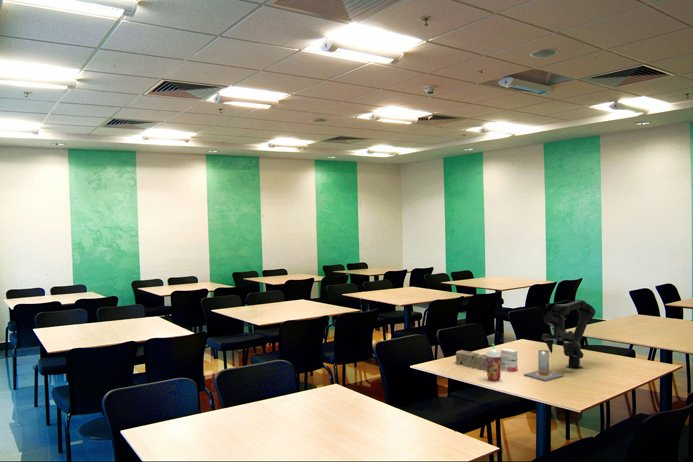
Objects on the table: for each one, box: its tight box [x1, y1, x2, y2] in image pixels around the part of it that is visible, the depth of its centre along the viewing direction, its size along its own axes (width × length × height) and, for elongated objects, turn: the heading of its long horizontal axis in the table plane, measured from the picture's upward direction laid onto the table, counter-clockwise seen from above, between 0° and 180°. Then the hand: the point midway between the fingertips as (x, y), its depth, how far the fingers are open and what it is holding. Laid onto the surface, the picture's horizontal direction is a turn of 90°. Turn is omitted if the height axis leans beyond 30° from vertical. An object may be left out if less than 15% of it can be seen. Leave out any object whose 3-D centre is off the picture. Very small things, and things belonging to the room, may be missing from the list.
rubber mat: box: [523, 370, 565, 382], centre depth 294 cm, size 16×14×1 cm
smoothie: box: [485, 343, 502, 382], centre depth 289 cm, size 8×8×20 cm
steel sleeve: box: [537, 349, 550, 376], centre depth 294 cm, size 6×6×13 cm
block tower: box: [455, 349, 502, 372], centre depth 316 cm, size 8×8×29 cm
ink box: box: [500, 348, 519, 373], centre depth 309 cm, size 8×5×12 cm, turn 39°
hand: (558, 353), depth 301 cm, fingers open, 9 cm apart
